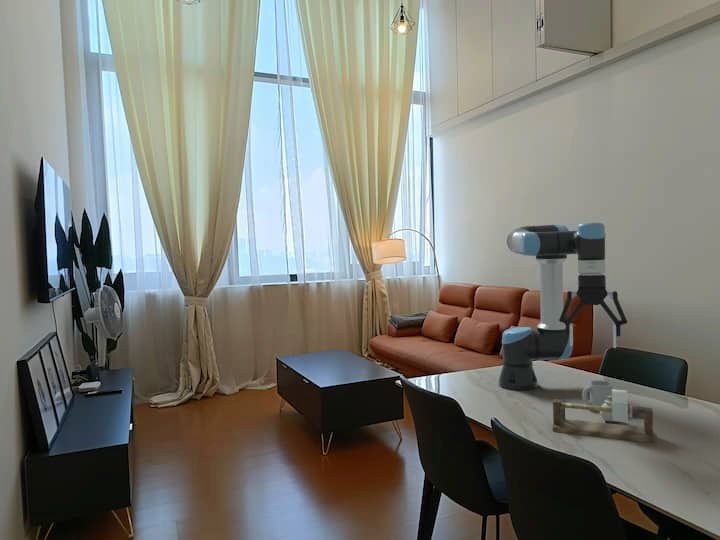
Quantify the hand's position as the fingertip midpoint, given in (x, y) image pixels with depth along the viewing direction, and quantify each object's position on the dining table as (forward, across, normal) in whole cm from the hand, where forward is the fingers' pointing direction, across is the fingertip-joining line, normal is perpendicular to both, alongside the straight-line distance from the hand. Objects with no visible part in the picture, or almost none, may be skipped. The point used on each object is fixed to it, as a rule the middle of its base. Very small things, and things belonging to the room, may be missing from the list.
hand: (592, 346), depth 152 cm
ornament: (+26, +4, +10) cm, 29 cm away
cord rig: (+26, +2, 0) cm, 26 cm away
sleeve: (+22, +7, 0) cm, 23 cm away
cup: (+26, +1, +22) cm, 35 cm away
